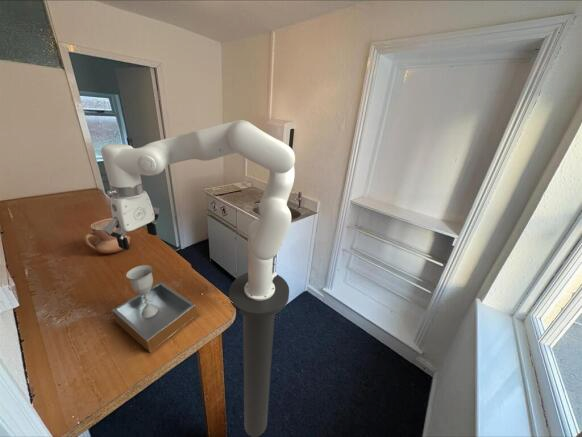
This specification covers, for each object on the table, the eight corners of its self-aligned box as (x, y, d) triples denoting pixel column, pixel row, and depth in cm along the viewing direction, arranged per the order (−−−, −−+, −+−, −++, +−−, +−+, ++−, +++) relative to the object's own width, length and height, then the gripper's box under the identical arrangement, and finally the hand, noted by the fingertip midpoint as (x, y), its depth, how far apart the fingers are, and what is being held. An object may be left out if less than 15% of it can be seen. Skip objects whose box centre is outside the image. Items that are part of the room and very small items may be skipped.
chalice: (143, 323, 78) (131, 282, 71) (134, 312, 82) (122, 272, 74) (164, 310, 84) (156, 271, 76) (155, 301, 87) (146, 262, 80)
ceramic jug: (129, 237, 125) (123, 213, 119) (138, 248, 117) (132, 223, 111) (86, 249, 113) (77, 223, 107) (93, 263, 105) (84, 235, 98)
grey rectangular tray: (163, 292, 92) (160, 281, 90) (196, 315, 84) (195, 304, 81) (115, 321, 79) (111, 310, 76) (150, 352, 70) (146, 341, 68)
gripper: (105, 201, 58) (121, 258, 65) (162, 184, 73) (170, 232, 80) (85, 196, 60) (102, 251, 67) (144, 180, 75) (153, 227, 82)
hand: (139, 241), depth 73 cm, fingers open, 9 cm apart
